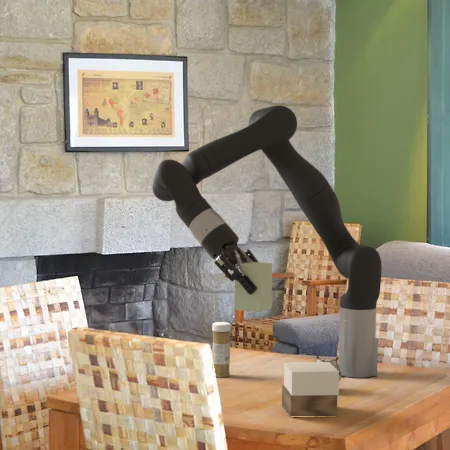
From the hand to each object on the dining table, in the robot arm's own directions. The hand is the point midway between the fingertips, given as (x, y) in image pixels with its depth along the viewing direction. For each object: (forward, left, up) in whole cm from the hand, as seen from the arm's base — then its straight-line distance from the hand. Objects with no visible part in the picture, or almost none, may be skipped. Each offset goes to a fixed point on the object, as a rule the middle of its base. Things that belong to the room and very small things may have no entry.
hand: (260, 290), depth 209 cm
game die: (-18, -15, -26) cm, 35 cm away
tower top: (-11, +4, -21) cm, 24 cm away
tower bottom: (-10, +4, -26) cm, 28 cm away
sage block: (+1, -1, -4) cm, 5 cm away
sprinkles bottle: (+5, -32, -26) cm, 41 cm away
